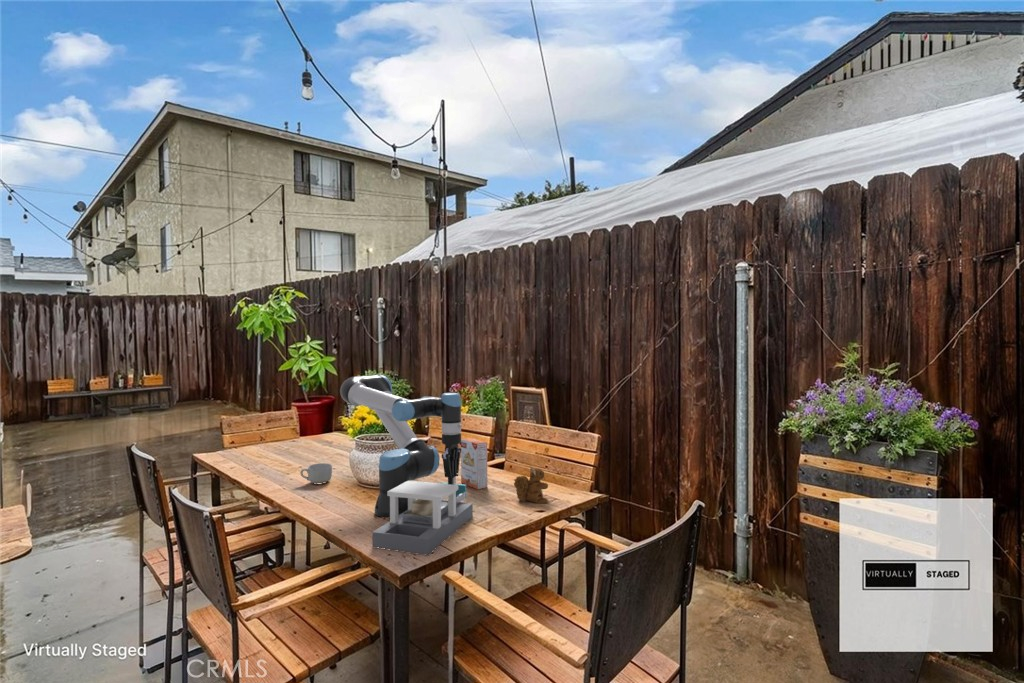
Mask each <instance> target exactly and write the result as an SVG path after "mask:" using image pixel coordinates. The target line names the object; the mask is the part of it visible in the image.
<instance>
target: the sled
mask: <svg viewBox="0 0 1024 683" xmlns="http://www.w3.org/2000/svg"><path fill="white" fill-rule="evenodd" d="M439 483H440V484H448V482H439ZM456 485H458V490H457V491H456V505H457V504H458V503H460V502H462V501H464V500H465V499H466V498H467V485H465V484H463V483H456ZM447 512H448V503H447V504H446V505H444V506H443V507H441V516H443V515H444V514H445V513H447ZM402 521H404V522H412V523H420V524H428V525H431V524H432V523H433V514H432V515H430V516H423V515H415V514H412V508H411V509H409V510H408V511H406V512H405V513H403V514H402Z"/></svg>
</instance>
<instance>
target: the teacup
mask: <svg viewBox="0 0 1024 683" xmlns="http://www.w3.org/2000/svg"><path fill="white" fill-rule="evenodd" d="M304 472H306V473H307V475H304ZM299 473H300V476H301V477H302V478H303V479H306V481H308V482H310V483H312V484H313V483H323V482H327V481H328V482H329V481H331V479H332V476H333V474H332V473H333V465H332V464H330V463H326V462H323V463H321V462H320V463H312V464H310V465H308V466H307V468H305V467H304V468H302V469H301V470H300V472H299ZM328 482H327V483H328Z"/></svg>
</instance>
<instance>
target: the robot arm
mask: <svg viewBox="0 0 1024 683" xmlns="http://www.w3.org/2000/svg"><path fill="white" fill-rule="evenodd" d="M392 387H393V385H392V383H391V381H390V379H389V378H388V377H387V376H385V375H382V374H372V375H358V376H357V375H355V376H350V377H349V378H346V379H345V380H344V381H343V382H342V384H341V386H340V388H339V393H340V394H339V395H340V396H341V399H342V400H343V401H344V402H345V403H347V404H350V405H352V406H364V407H366V408H368V409H369V410H371V411H374V412H375V414H376V415H377V416H378V419H379V420H380V421H381V422H382V424H383V426H384V427H385V430H386V429H387V431H388V432H389V434H388V435H390V437H391V439H392V440H393V442H395V443H396V445H397V446H398V448H399V449H397V448H394V449H390V450H386V451H385V452H383V453H381V455H380V456H379V460H378V461H379V462H378V473H379V474H378V479H379V480H378V483H379V484H378V488H379V491H378V496H377V500H376V501H375V502H376V503H375V506H374V515H375V514H376V515H377V517H378V516H380V517H379V518H382V517H384V518H383V519H390V496H387V491H389V490H391V489H393V488H395V487H397V486H399V485H401V484H402V483H404V482H406V481H416V480H419V479H421V478H426V477H429V476H430V475H433V474H435V473H436V472H437V471H438V469H439V466H440V461H441V460H440V458H442V465H443V473H444V478H447V483H448V484H451V485H456V484H457V477H459V471H460V463H461V447H459V444H461V439H462V433H461V432H462V426H463V425H462V399H461V397H462V396H461V395H460V393H458V392H444V393H441V397H438V396H437V397H436V396H429V395H428V396H422V397H420V398H415V399H414V398H413V399H408V398H404V397H401V396H399V395H395V394H393V388H392ZM429 417H440V418H441V433H442V434H441V443H442V444H443V445H444V453H442V454H441V457H440V454H439V453H440V452H439V451H438V449H437V448H436V447H435V446H434V445H427V443H426V442H425V441H424V439H422V438H418V437H417V435H416V434H415V432H414V431H413V430H412V428H411V426H410V425H409V424H408V422H407V421H411V420H418V419H423V418H429ZM406 510H408V498H402V497H398V515H400V514H402V513H403V512H405V511H406ZM376 515H375V516H376Z"/></svg>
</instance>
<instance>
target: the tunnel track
mask: <svg viewBox="0 0 1024 683" xmlns="http://www.w3.org/2000/svg"><path fill="white" fill-rule="evenodd" d="M440 483H441V482H438V483H437V482H427V481H426V482H425V481H420V480H419V481H417V480H411V481H406V482H404V483H402V484H401V485H399V486H397V487H395V488H393V489H391V490H389V491H387V496H390V518H389V521H387V522H386V523H384V524H383V525H382V526H380V527H378V528H377V529H375V530H373V531H371V532H372V534H371V536H372V537H371V538H372V545H371V546H372V547H379V548H385V549H384V550H386V549H390V550H389V551H393V550H398V551H397V552H400V551H404V552H403V553H407V552H411V553H410V554H414V553H418V554H417V555H421V554H426V555H425V556H429V554H430V553H431V552H432V551H433V550H434V551H435V550H436V549H437V547H438V546H439V545H440V544H441V543H442V542H443V541H444V540H446V539H447V538H448V537H449V536H450V537H451V536H452V535H453V534H455V533H456V532H457V531H458V530H459V529H461V527H463V526H464V525H465V524H467V522H468V521H469V520H470V518H471V519H472V518H473V516H474V515H473V512H474V510H473V508H474V507H473V506H474V505H473V504H474V503H473V502H462V501H461V502H460V503H458V504H457V505H456V491H457V490H458V485H451V484H440ZM398 497H402V498H408V510H409V509H411V508H412V503H413V502H414V501H416V500H417V499H421V500H431V501H433V523H432V524H431V525H428V524H420V523H412V522H404V521H402V514H403V513H405V512H406V511H408V510H406V511H405V512H403V513H402V514H400V515H398ZM445 499H448V500H445ZM447 503H448V512H447V513H445V514H444V515H443V516H441V507H443V506H444V505H446V504H447ZM463 524H464V525H463ZM462 525H463V526H462ZM456 530H457V531H456ZM455 531H456V532H455ZM454 532H455V533H454ZM450 537H449V538H450ZM449 538H448V539H449ZM448 539H447V540H448ZM447 540H446V541H447ZM444 542H445V541H444ZM444 542H443V543H444ZM443 543H442V544H443ZM442 544H441V545H442ZM441 545H440V546H441ZM440 546H439V547H440ZM439 547H438V548H439ZM379 548H378V549H379ZM435 548H436V549H435ZM434 551H433V552H434ZM433 552H432V553H433ZM432 553H431V554H432ZM431 554H430V555H431Z"/></svg>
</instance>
